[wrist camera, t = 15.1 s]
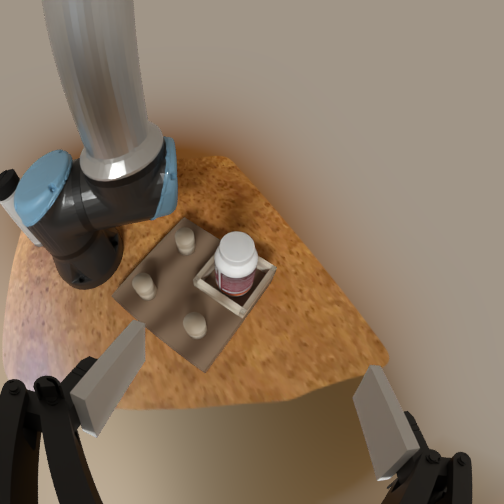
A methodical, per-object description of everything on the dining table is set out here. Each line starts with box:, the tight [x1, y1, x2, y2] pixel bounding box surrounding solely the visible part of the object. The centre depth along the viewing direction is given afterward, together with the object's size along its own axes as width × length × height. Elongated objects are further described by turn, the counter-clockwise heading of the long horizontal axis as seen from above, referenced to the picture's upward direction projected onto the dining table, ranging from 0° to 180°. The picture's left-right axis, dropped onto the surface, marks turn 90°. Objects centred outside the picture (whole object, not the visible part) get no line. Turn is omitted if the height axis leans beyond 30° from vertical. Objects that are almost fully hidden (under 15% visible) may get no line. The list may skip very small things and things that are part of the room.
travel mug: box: [0, 169, 43, 247], centre depth 41 cm, size 6×7×20 cm
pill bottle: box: [214, 231, 258, 297], centre depth 41 cm, size 6×6×11 cm
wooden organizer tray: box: [112, 217, 277, 373], centre depth 44 cm, size 20×20×7 cm
